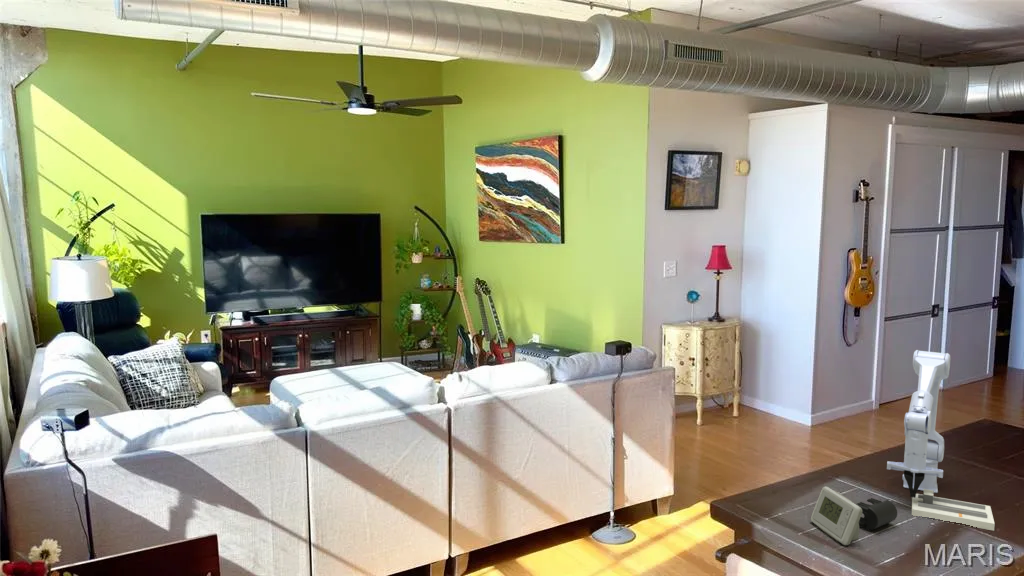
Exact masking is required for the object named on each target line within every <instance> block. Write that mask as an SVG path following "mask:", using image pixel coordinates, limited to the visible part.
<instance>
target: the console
mask: <svg viewBox="0 0 1024 576" xmlns="http://www.w3.org/2000/svg"><path fill="white" fill-rule="evenodd" d="M991 507H992V506H991V505H986V504H979V503H974V502H970V501H969V502H968V501H962V500H958V499H950V498H945V497H938V496H933V505H931V504H926V503H923V494H920V493H916V497H915V498H914V497H911V516H912V515H913V517H916V516H922V517H929V518H935V519H940V520H943V521H942V522H944V521H950V522H956V523H962V524H966V525H970V526H969V527H971V526H973V528H976V527H977V528H978V529H982V530H988V531H993V532H994V531H995V526H996V525H995V520H994V516H993V512H992V511H993V510H992V508H991ZM922 517H921V518H922Z"/></svg>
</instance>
